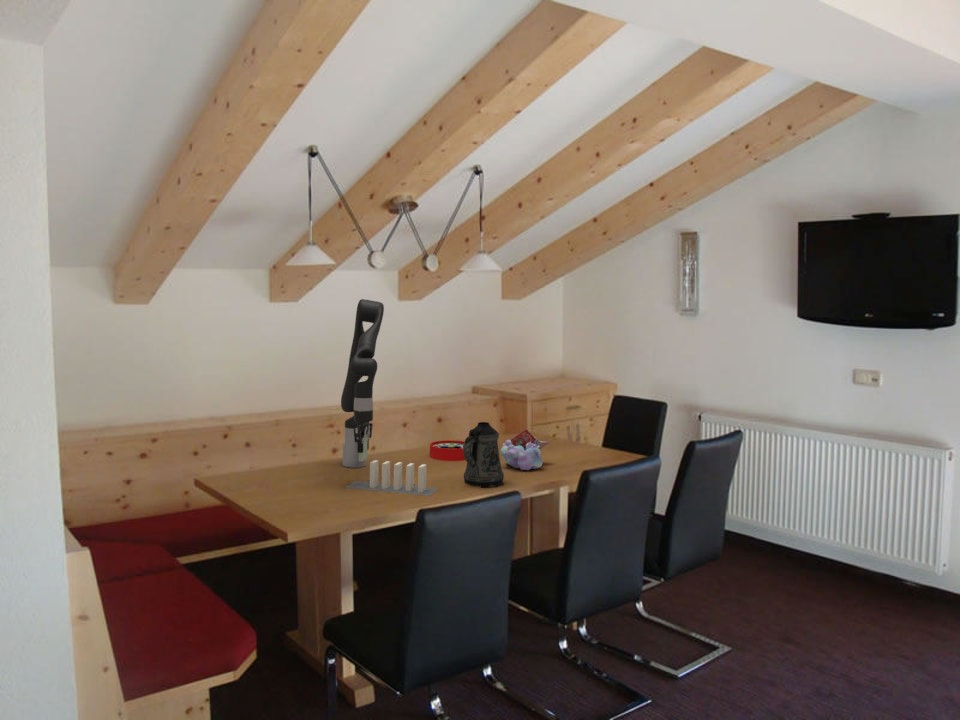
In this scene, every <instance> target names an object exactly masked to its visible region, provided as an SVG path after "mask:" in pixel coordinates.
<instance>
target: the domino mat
mask: <svg viewBox="0 0 960 720" xmlns="http://www.w3.org/2000/svg"><path fill="white" fill-rule="evenodd" d="M344 489H353V490H362V491H374V492H383V493H395V494H405V495H412V496H413V495H417V496H427V497H430V496H432V495H433V494H435V492H437V491H438V490H439V487H428V486H426V490H425V491H423V492H422V493H420V492H418V485H414V489H412V490H411V491H406V484H402V488H400V489H399V490H394V483H390V487H388V488H386V489H382V482H378V486H376V487H374V488H370V481H365V480H355V481H353V482H351V483H350V484H348V485H346V486H345V487H344Z"/></svg>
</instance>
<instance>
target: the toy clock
mask: <svg viewBox="0 0 960 720" xmlns="http://www.w3.org/2000/svg"><path fill="white" fill-rule="evenodd" d="M464 442H465V440H449V439H448V440H437V441H432V442H430V443H429V458H431V459H433V460H436V461H444V462H461V461H466V459H465V457H464V454H463V444H464Z"/></svg>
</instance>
